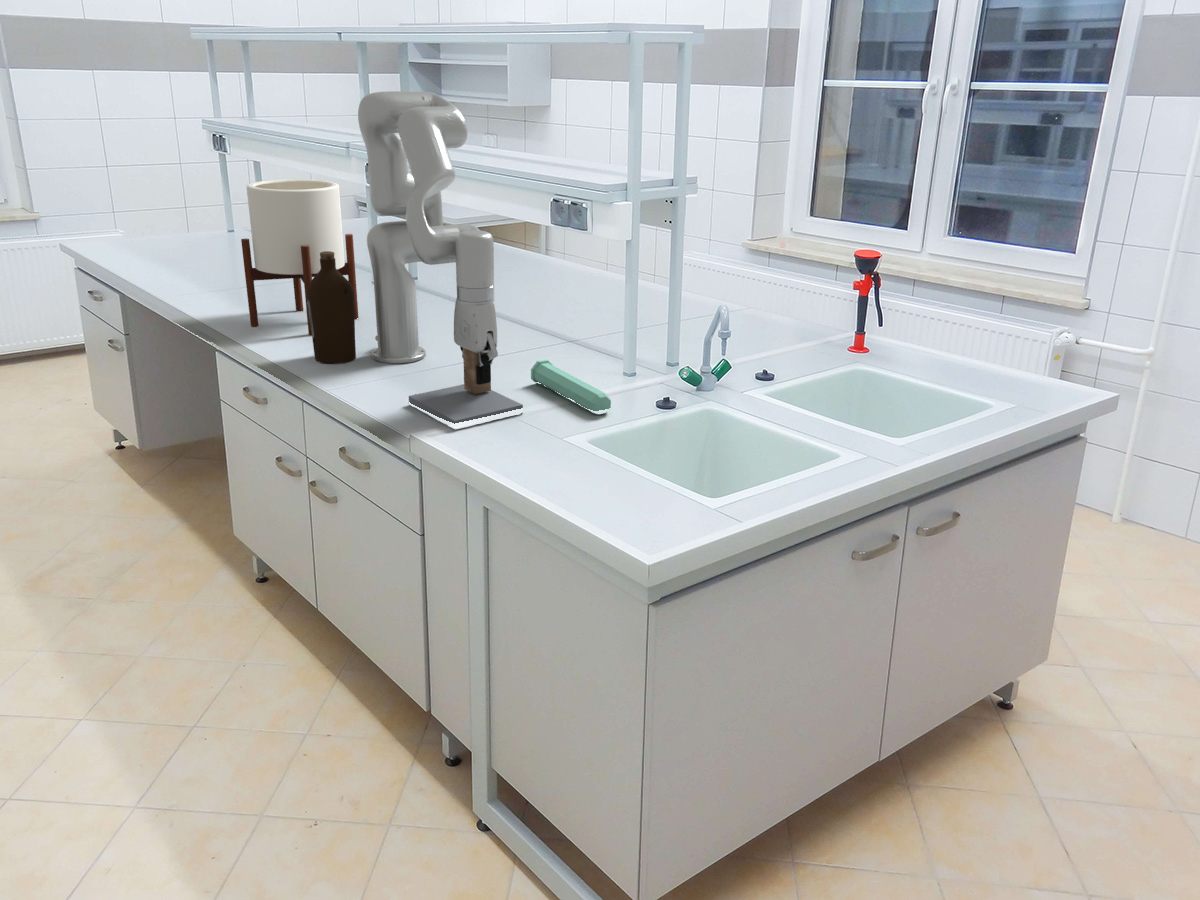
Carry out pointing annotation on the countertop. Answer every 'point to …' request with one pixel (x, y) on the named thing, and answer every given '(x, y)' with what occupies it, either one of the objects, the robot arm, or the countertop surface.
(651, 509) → the countertop surface
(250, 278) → the plant pot with stand
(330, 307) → the olive oil
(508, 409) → the board
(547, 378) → the container
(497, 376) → the countertop surface
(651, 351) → the countertop surface
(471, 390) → the block
